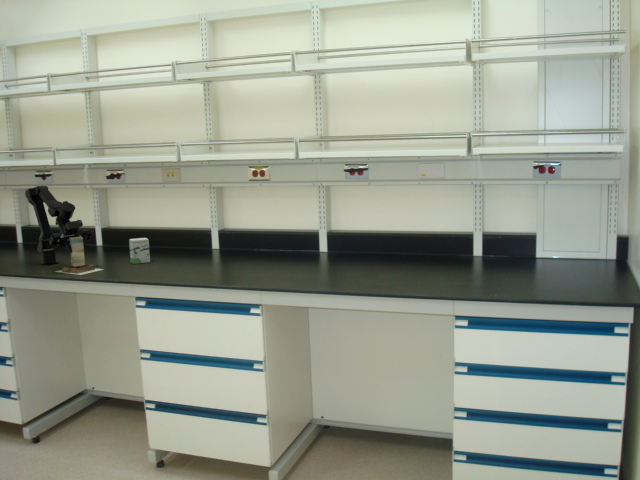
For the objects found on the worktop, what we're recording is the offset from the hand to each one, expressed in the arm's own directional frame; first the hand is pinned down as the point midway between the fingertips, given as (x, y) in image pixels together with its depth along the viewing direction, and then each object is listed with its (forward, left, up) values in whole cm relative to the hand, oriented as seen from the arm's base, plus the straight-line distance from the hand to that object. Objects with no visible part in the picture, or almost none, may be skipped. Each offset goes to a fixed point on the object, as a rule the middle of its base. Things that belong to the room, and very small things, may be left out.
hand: (78, 251), depth 268 cm
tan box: (-1, 0, -7) cm, 7 cm away
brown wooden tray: (-1, 0, -9) cm, 9 cm away
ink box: (+10, +28, -10) cm, 31 cm away
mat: (-1, +1, -9) cm, 10 cm away
